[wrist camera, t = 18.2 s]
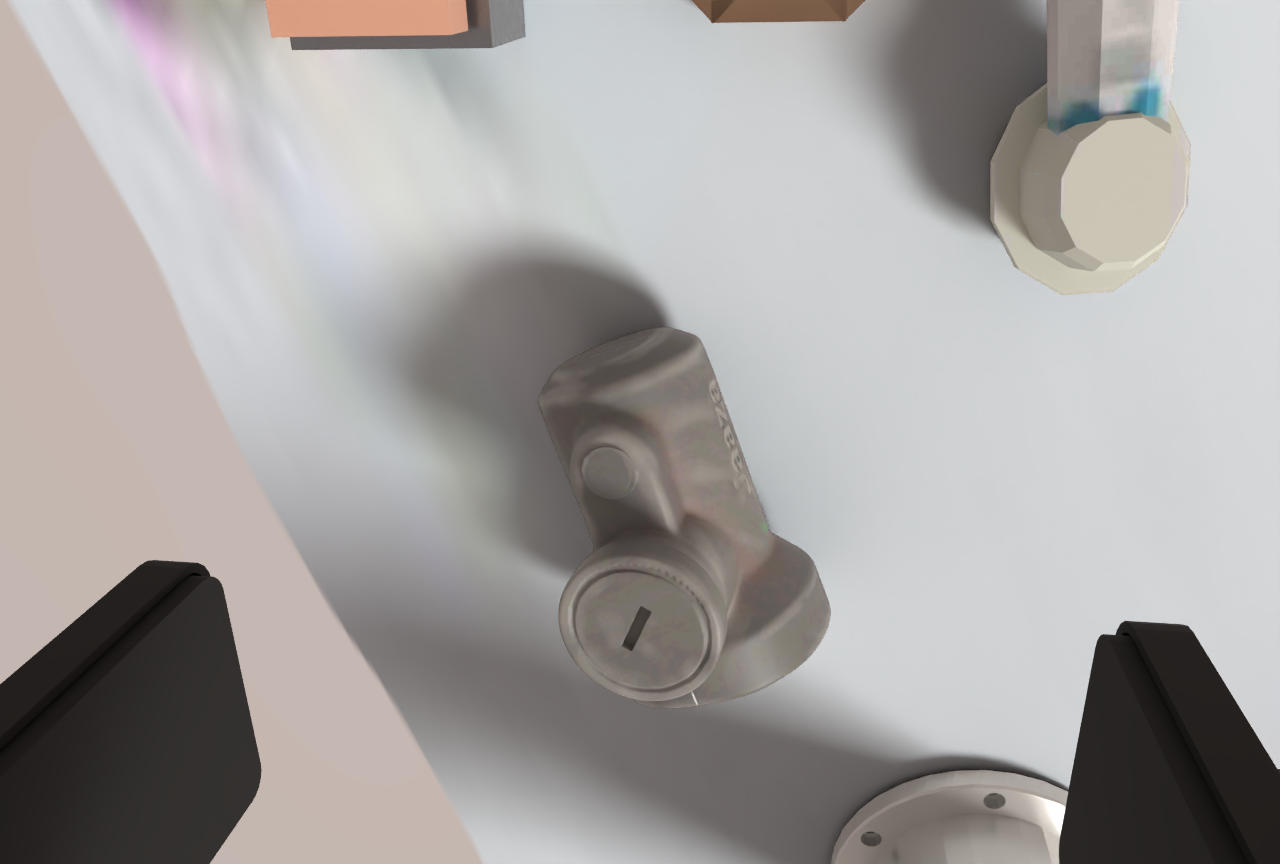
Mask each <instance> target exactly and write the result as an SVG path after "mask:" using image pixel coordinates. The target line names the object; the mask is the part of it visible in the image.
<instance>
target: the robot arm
mask: <svg viewBox="0 0 1280 864" xmlns="http://www.w3.org/2000/svg"><path fill="white" fill-rule="evenodd" d="M260 779H261V763H260V758H259V753H258V749H257V744H256V740H255V736H254V730H253V726H252V721H251V717H250V711H249V707H248V702H247V697H246V693H245V688H244V684H243V679H242V674H241V670H240V665H239V660H238V655H237V651H236V646H235V642H234V637H233V632H232V627H231V623H230V618H229V613H228V609H227V604H226V600H225V595H224V591H223V587H222V584H221V583H220V581H219V580H218V579H216V578H215V577H210V574H209V572H208V570H207V569H206V568H205V566H203V565H201V564H199V563H189V562H174V561H158V560H153V561H147V562H145V563H143V564H142V565H140V566H139V567H137V568H136V569H135V570H134V571H133V572H132V573H130V574H129V575H128V576H127V577H126V578H125V579H123V580H122V581H121V582H120V583H119V584H117V585H116V586H115V587H114V588H113V589H112V590H110V591H109V592H108V593H107V594H106V595H105V596H104V597H102V598H101V599H100V600H99V601H98V602H96V603H95V604H94V605H93V606H92V607H91V608H89V609H88V610H87V611H86V612H85V613H84V614H82V615H81V616H80V617H79V618H78V619H76V620H75V621H74V622H73V623H72V624H71V625H70V626H68V627H67V628H66V629H65V630H64V631H62V632H61V633H60V634H59V635H58V636H57V637H55V638H54V639H53V640H52V641H51V642H49V643H48V644H47V645H46V646H45V647H44V648H43V649H41V650H40V651H39V652H38V653H37V654H35V655H34V656H33V657H32V658H31V659H30V660H28V661H27V662H26V663H25V664H24V665H23V666H21V667H20V668H19V669H18V670H17V671H15V672H14V673H13V674H12V675H11V676H10V677H8V678H7V679H6V680H5V681H4V682H3V683H1V684H0V864H210V862H211V861H212V859H213V858H214V856H215V855H216V853H217V852H218V851H219V849H220V848H221V846H222V845H223V843H224V842H225V840H226V839H227V837H228V836H229V834H230V833H231V832H232V830H233V829H234V827H235V826H236V824H237V823H238V821H239V820H240V819H241V817H242V815H243V814H244V813H245V811H246V810H247V808H248V807H249V805H250V804H251V803H252V801H253V799H254V797H255V796H256V793H257V791H258V788H259V783H260ZM830 864H1280V769H1277V768H1276V766H1275V765H1274V763H1273V761H1272V760H1271V758H1270V756H1269V755H1268V753H1267V752H1266V750H1265V748H1264V747H1263V745H1262V743H1261V742H1260V740H1259V739H1258V737H1257V735H1256V734H1255V732H1254V730H1253V729H1252V727H1251V726H1250V724H1249V722H1248V721H1247V719H1246V717H1245V716H1244V714H1243V712H1242V711H1241V709H1240V708H1239V706H1238V704H1237V703H1236V701H1235V699H1234V698H1233V696H1232V695H1231V693H1230V691H1229V690H1228V688H1227V686H1226V685H1225V683H1224V682H1223V680H1222V678H1221V677H1220V675H1219V673H1218V672H1217V670H1216V669H1215V667H1214V665H1213V664H1212V662H1211V660H1210V659H1209V657H1208V656H1207V654H1206V652H1205V651H1204V649H1203V647H1202V646H1201V644H1200V642H1199V641H1198V639H1197V638H1196V636H1195V634H1194V633H1193V631H1192V630H1191V629H1190V628H1189V627H1188V626H1186V625H1181V624H1165V623H1149V622H1133V621H1124V622H1123V623H1121V624H1120V626H1119V628H1118V629H1117V632H1116V635H1106V634H1103V635H1101V636H1100V637H1099V639H1098V641H1097V644H1096V648H1095V653H1094V658H1093V663H1092V669H1091V674H1090V679H1089V685H1088V690H1087V695H1086V701H1085V706H1084V711H1083V717H1082V722H1081V727H1080V733H1079V738H1078V743H1077V749H1076V754H1075V759H1074V765H1073V770H1072V775H1071V781H1070V786H1069V791H1065V790H1063V789H1061V788H1058V787H1056V786H1054V785H1052V784H1049V783H1047V782H1045V781H1042V780H1038V779H1034V778H1031V777H1027V776H1023V775H1019V774H1016V773H1007V772H999V771H990V770H965V771H951V772H945V773H939V774H933V775H927V776H924V777H921V778H918V779H915V780H912V781H909V782H906V783H903V784H900V785H898V786H896V787H894V788H892V789H890V790H888V791H886V792H884V793H882V794H880V795H878V796H877V797H875V798H874V799H873V800H872V801H870V802H869V803H868V804H866V805H865V806H864V807H862V808H861V809H860V810H859V811H858V812H857V813H856V814H855V815H854V816H853V817H852V819H851V820H850V821H849V822H848V823H847V824H846V826H845V827H844V828H843V830H842V832H841V834H840V836H839V838H838V840H837V842H836V844H835V845H834V850H833V854H832V859H831V863H830Z"/></svg>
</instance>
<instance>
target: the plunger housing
mask: <svg viewBox="0 0 1280 864" xmlns="http://www.w3.org/2000/svg"><path fill="white" fill-rule="evenodd" d="M466 10H467V22H468V31H465V32H461V33H457V34H453V35H413V36H326V37H290V41H291V47H292V50H333V49H434V48H494V47H497V46H499V45H502V44H505V43H508V42H511V41H514V40H517V39H520V38H523V37H525V24H524V9H523V0H466Z"/></svg>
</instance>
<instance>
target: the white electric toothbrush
mask: <svg viewBox="0 0 1280 864" xmlns="http://www.w3.org/2000/svg"><path fill="white" fill-rule="evenodd" d="M1178 10H1179V0H1047V83H1046V84H1045V85H1043V86H1042V87H1041V88H1040V89H1038V90H1037V91H1036V92H1035V93H1033V94H1032V95H1031V96H1029V97H1028V98H1027V99H1026V100H1024V101H1023V102H1022V103H1021V104H1019V105H1018V106H1017V107H1016V108H1015V110H1014V112H1013V114H1012V117H1011V119H1010V121H1009V123H1008V125H1007V127H1006V129H1005V132H1004V134H1003V136H1002V138H1001V140H1000V142H999V144H998V147H997V149H996V151H995V153H994V155H993V157H992V159H991V161H990V220H991V222H992V224H993V226H994V228H995V230H996V232H997V234H998V235H999V237H1000V239H1001V241H1002V243H1003V245H1004V247H1005V249H1006V251H1007V253H1008V255H1009V257H1010V259H1011V261H1012V263H1013V265H1014V267H1016V268H1017V269H1019V270H1020V271H1022V272H1024V273H1025V274H1027V275H1029V276H1030V277H1032V278H1034V279H1035V280H1037V281H1039V282H1041V283H1042V284H1044V285H1046V286H1047V287H1049V288H1051V289H1052V290H1054V291H1056V292H1057V293H1059V294H1061V295H1070V294H1084V293H1099V292H1112V291H1114V290H1115V289H1117V288H1118V287H1120V286H1121V285H1122V284H1124V283H1125V282H1127V281H1128V280H1130V279H1131V278H1132V277H1134V276H1135V275H1137V274H1138V273H1140V272H1141V271H1142V270H1144V269H1145V268H1147V267H1148V266H1150V265H1151V264H1152V263H1154V262H1155V261H1157V260H1158V259H1159V257H1160V255H1161V253H1162V251H1163V250H1164V248H1165V246H1166V244H1167V242H1168V240H1169V239H1170V237H1171V235H1172V233H1173V231H1174V229H1175V228H1176V226H1177V224H1178V222H1179V220H1180V218H1181V217H1182V215H1183V213H1184V211H1185V209H1186V207H1187V201H1188V184H1189V167H1190V150H1191V144H1190V142H1189V140H1188V137H1187V135H1186V133H1185V131H1184V129H1183V127H1182V125H1181V122H1180V120H1179V118H1178V116H1177V114H1176V112H1175V109H1174V107H1173V105H1172V103H1171V101H1170V95H1171V84H1172V74H1173V63H1174V52H1175V42H1176V31H1177V21H1178Z"/></svg>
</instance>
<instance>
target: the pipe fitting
mask: <svg viewBox="0 0 1280 864" xmlns="http://www.w3.org/2000/svg"><path fill="white" fill-rule="evenodd" d="M538 404H539V407H540V410H541V412H542V415H543V418H544V421H545V423H546V426H547V429H548V431H549V434H550V436H551V439H552V441H553V444H554V446H555V448H556V451H557V453H558V456H559V458H560V460H561V463H562V465H563V468H564V470H565V472H566V475H567V477H568V480H569V482H570V484H571V487H572V489H573V492H574V494H575V496H576V499H577V501H578V504H579V506H580V508H581V511H582V513H583V516H584V519H585V521H586V524H587V527H588V530H589V532H590V535H591V538H592V542H593V547H594V550H593V552H592V553H591V554H590V555H589V556H588V557H586V558H585V559H584V561H583V562H582V563H581V564H580V565H579V567H578V568H577V570H576V571H575V572H574V574H573V575H572V577H571V578H570V580H569V581H568V583H567V585H566V587H565V589H564V591H563V594H562V596H561V600H560V605H559V626H560V631H561V635H562V638H563V641H564V643H565V646H566V648H567V650H568V652H569V653H570V655H571V657H572V658H573V660H574V661H575V662H576V664H577V665H578V666H579V667H580V668H581V669H582V670H583V671H584V672H585V673H586V674H587V675H588V676H589V677H590V678H591V679H592V680H594V681H595V682H596V683H598V684H599V685H601V686H603V687H604V688H606V689H608V690H610V691H612V692H614V693H616V694H619V695H622V696H625V697H628V698H631V699H632V700H634V701H635V702H637V703H640V704H642V705H646V706H650V707H659V708H682V707H692V706H700V705H706V704H711V703H716V702H721V701H727V700H731V699H735V698H739V697H742V696H745V695H748V694H751V693H754V692H756V691H758V690H761V689H763V688H765V687H767V686H769V685H770V684H772V683H774V682H776V681H777V680H779V679H781V678H783V677H784V676H786V675H787V674H789V673H791V672H792V671H794V670H795V669H796V668H798V667H799V666H800V665H801V664H803V662H804V661H806V660H807V659H808V658H809V657H810V656H811V655H812V654H813V652H814V651H815V650H816V648H817V647H818V645H819V644H820V642H821V641H822V639H823V637H824V635H825V633H826V630H827V628H828V625H829V621H830V615H831V610H830V604H829V601H828V598H827V596H826V593H825V590H824V588H823V585H822V582H821V580H820V577H819V574H818V571H817V569H816V566H815V564H814V562H813V560H812V559H811V557H810V556H809V555H808V554H807V553H806V552H804V551H803V550H802V549H800V548H798V547H797V546H795V545H793V544H791V543H790V542H788V541H786V540H784V539H782V538H781V537H779V536H777V535H775V534H774V533H772V532H770V529H769V526H768V524H767V521H766V518H765V515H764V512H763V510H762V507H761V504H760V501H759V498H758V495H757V493H756V490H755V487H754V484H753V481H752V478H751V476H750V473H749V470H748V467H747V464H746V461H745V458H744V456H743V453H742V450H741V447H740V444H739V442H738V439H737V436H736V433H735V430H734V427H733V424H732V422H731V419H730V416H729V413H728V410H727V408H726V405H725V402H724V399H723V396H722V393H721V391H720V388H719V385H718V382H717V379H716V376H715V374H714V371H713V368H712V366H711V363H710V361H709V358H708V356H707V353H706V351H705V348H704V346H703V344H702V342H701V340H700V339H699V338H698V337H697V336H695V335H693V334H690V333H687V332H684V331H681V330H677V329H674V328H668V327H660V328H652V329H647V330H643V331H639V332H635V333H632V334H629V335H626V336H623V337H620V338H617V339H614V340H612V341H609V342H606V343H604V344H601V345H599V346H597V347H594V348H592V349H590V350H588V351H586V352H583V353H581V354H579V355H577V356H575V357H574V358H572V359H570V360H568V361H567V362H565V363H563V364H562V365H561V366H559V367H558V368H557V369H556V370H555V371H554V372H553V373H552V375H551V376H550V378H549V379H548V381H547V383H546V384H545V386H544V388H543V389H542V391H541V393H540V395H539V398H538Z"/></svg>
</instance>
